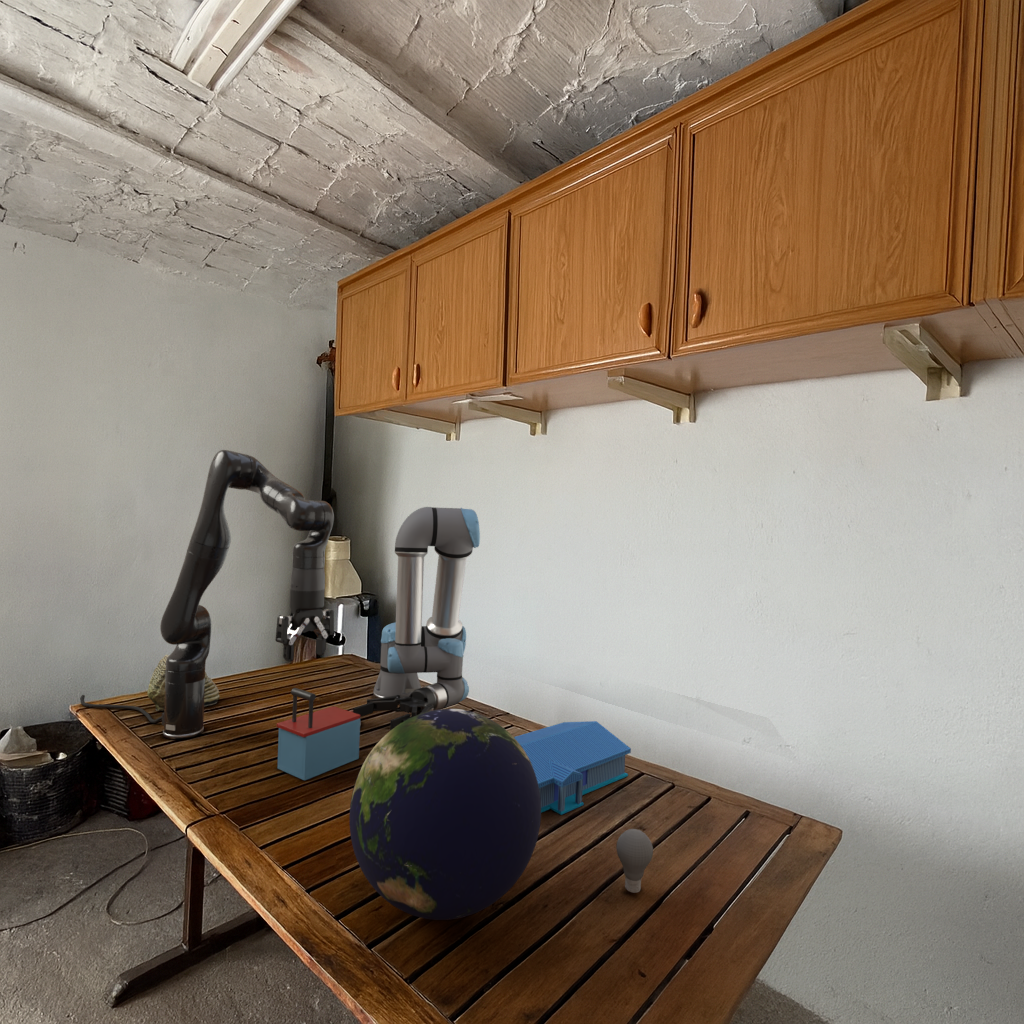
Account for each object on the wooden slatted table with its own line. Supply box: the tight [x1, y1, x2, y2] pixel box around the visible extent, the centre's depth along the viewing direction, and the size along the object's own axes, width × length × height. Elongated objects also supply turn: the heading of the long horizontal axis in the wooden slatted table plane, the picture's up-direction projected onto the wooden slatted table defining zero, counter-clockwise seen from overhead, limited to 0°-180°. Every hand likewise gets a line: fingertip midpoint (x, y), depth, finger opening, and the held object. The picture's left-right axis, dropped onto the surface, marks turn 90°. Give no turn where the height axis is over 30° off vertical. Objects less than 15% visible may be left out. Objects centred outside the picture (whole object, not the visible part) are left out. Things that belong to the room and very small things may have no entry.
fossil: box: [147, 654, 221, 712], centre depth 185 cm, size 9×18×15 cm, turn 132°
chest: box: [277, 717, 361, 781], centre depth 150 cm, size 16×10×10 cm, turn 146°
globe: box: [349, 708, 542, 921], centre depth 100 cm, size 30×30×30 cm
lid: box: [276, 687, 361, 737], centre depth 150 cm, size 16×10×9 cm, turn 146°
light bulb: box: [615, 828, 654, 894], centre depth 106 cm, size 6×6×10 cm
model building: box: [513, 720, 632, 816], centre depth 144 cm, size 39×24×10 cm, turn 132°
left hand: (304, 657), depth 145 cm, fingers open, 8 cm apart
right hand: (371, 719), depth 163 cm, fingers open, 13 cm apart
